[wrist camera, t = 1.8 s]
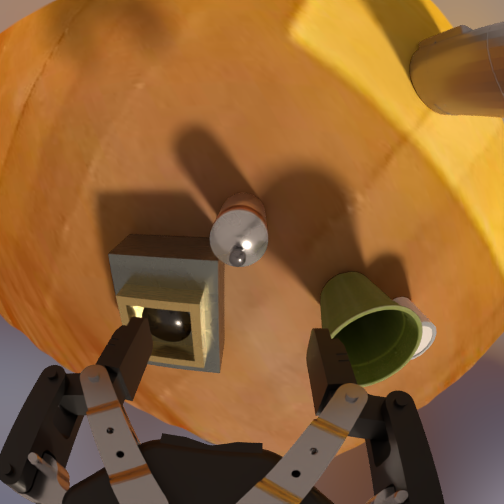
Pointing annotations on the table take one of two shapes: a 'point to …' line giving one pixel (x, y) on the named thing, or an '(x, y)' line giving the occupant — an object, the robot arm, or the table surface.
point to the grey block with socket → (173, 297)
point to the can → (240, 231)
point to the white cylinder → (427, 326)
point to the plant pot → (369, 327)
